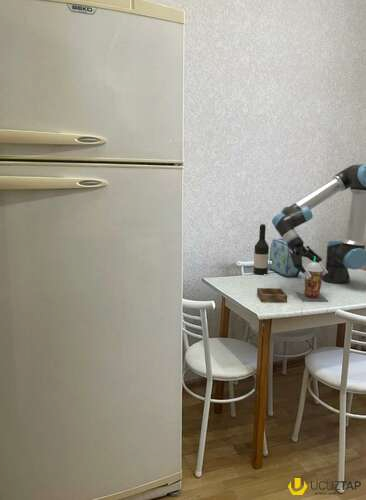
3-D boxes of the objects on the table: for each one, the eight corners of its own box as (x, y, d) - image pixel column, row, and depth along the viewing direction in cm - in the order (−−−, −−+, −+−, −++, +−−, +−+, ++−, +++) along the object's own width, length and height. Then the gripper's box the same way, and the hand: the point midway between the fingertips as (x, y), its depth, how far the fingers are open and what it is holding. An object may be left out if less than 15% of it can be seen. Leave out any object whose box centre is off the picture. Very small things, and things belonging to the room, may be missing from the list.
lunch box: (302, 278, 235) (305, 242, 231) (285, 278, 233) (288, 243, 229) (283, 268, 260) (284, 236, 256) (267, 268, 258) (269, 236, 254)
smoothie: (300, 294, 200) (303, 254, 196) (316, 293, 200) (319, 254, 197) (306, 299, 192) (309, 258, 188) (323, 299, 192) (327, 258, 188)
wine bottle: (267, 275, 240) (270, 225, 234) (253, 274, 241) (255, 224, 236) (267, 272, 248) (269, 223, 242) (253, 271, 249) (255, 223, 244)
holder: (281, 295, 200) (281, 288, 199) (287, 302, 188) (287, 295, 188) (256, 294, 200) (257, 287, 200) (261, 302, 188) (261, 294, 188)
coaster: (320, 294, 202) (320, 293, 202) (328, 301, 190) (328, 300, 190) (296, 294, 202) (296, 292, 202) (302, 301, 190) (303, 300, 190)
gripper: (303, 242, 211) (326, 276, 202) (272, 247, 196) (296, 284, 187) (312, 234, 206) (337, 268, 197) (282, 238, 191) (307, 275, 182)
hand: (317, 275), depth 192 cm, fingers open, 13 cm apart
